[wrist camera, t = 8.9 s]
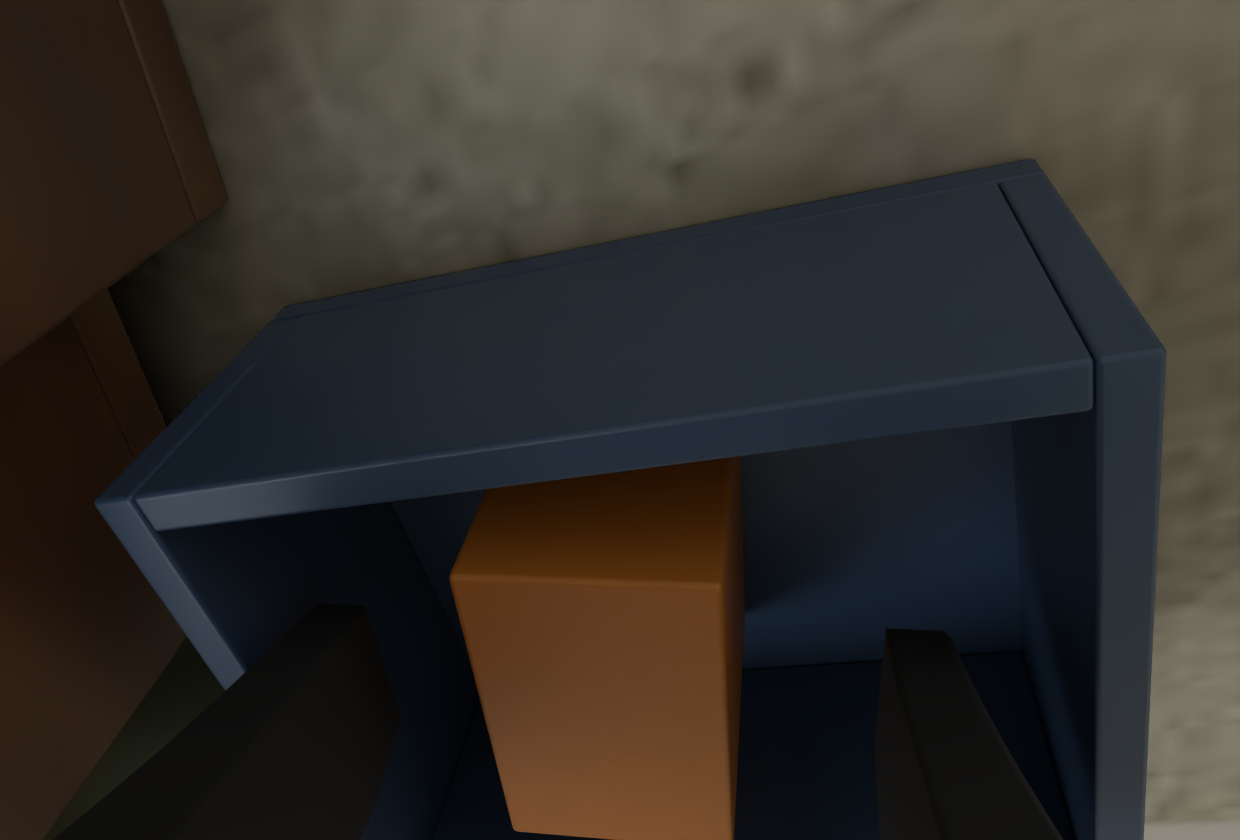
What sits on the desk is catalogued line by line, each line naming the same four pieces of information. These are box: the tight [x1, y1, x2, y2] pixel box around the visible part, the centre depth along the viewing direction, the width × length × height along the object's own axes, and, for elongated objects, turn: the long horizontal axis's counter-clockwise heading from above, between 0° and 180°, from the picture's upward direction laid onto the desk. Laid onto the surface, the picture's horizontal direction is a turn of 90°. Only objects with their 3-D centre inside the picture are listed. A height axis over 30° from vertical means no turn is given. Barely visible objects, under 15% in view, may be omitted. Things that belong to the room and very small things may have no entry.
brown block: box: [449, 456, 745, 840], centre depth 12 cm, size 4×3×4 cm, turn 5°
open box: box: [94, 159, 1166, 840], centre depth 12 cm, size 10×8×4 cm
